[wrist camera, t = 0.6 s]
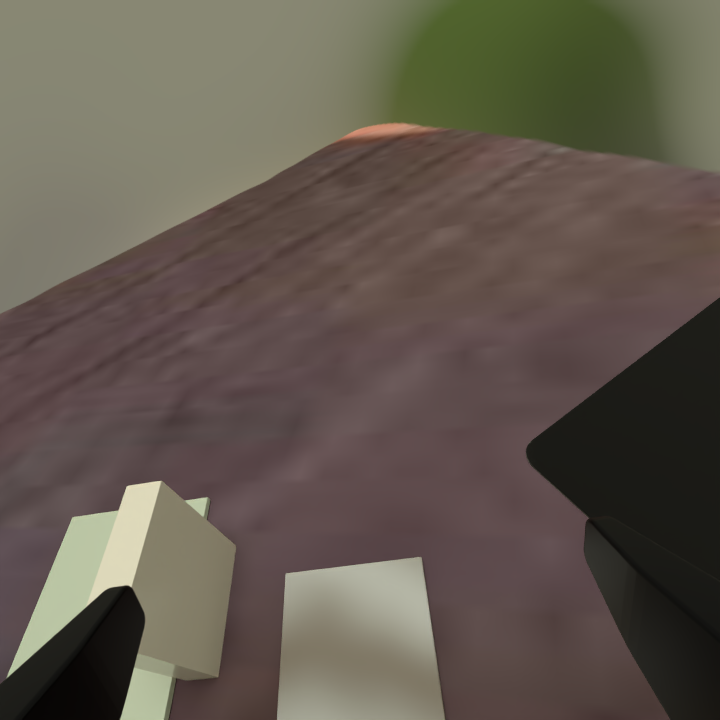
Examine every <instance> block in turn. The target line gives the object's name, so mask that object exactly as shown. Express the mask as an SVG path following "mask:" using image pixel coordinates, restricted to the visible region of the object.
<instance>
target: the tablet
mask: <svg viewBox="0 0 720 720" xmlns="http://www.w3.org/2000/svg"><path fill="white" fill-rule="evenodd" d="M526 456H527V459H528V462H529V463H530V465H531V466H532V467H533V468H534V469H535V470H536V471H538V472H539V473H540V474H541V475H542V476H543V477H544V478H545V479H546V480H547V481H549V482H550V483H551V484H552V485H553V486H554V487H555V488H556V489H557V490H559V491H560V492H561V493H562V494H563V495H564V496H565V497H566V498H567V499H569V500H570V501H571V502H572V503H573V504H574V505H575V506H576V507H577V508H578V509H580V510H581V511H582V512H583V513H584V514H585V515H586V516H587V517H588V518H594V517H601V516H610V517H613V518H615V519H616V520H618V521H620V522H621V523H623V524H625V525H626V526H628V527H630V528H632V529H633V530H635V531H637V532H638V533H640V534H642V535H643V536H645V537H647V538H648V539H650V540H652V541H654V542H655V543H657V544H659V545H660V546H662V547H664V548H665V549H667V550H669V551H671V552H672V553H674V554H676V555H677V556H679V557H681V558H682V559H684V560H686V561H687V562H689V563H691V564H693V565H694V566H696V567H698V568H699V569H701V570H703V571H704V572H706V573H708V574H710V575H711V576H713V577H715V578H716V579H718V580H720V298H718V299H717V300H716V301H715V302H713V303H712V304H711V305H709V306H708V307H707V308H705V309H704V310H703V311H701V312H700V313H699V314H697V315H696V316H695V317H694V318H692V319H691V320H690V321H688V322H687V323H686V324H684V325H683V326H682V327H680V328H679V329H678V330H676V331H675V332H674V333H672V334H671V335H670V336H669V337H667V338H666V339H665V340H663V341H662V342H661V343H659V344H658V345H657V346H655V347H654V348H653V349H651V350H650V351H649V352H648V353H646V354H645V355H644V356H642V357H641V358H640V359H638V360H637V361H636V362H634V363H633V364H632V365H630V366H629V367H628V368H626V369H625V370H624V371H623V372H621V373H620V374H619V375H617V376H616V377H615V378H613V379H612V380H611V381H609V382H608V383H607V384H605V385H604V386H603V387H602V388H600V389H599V390H598V391H596V392H595V393H594V394H592V395H591V396H590V397H588V398H587V399H586V400H584V401H583V402H582V403H580V404H579V405H578V406H577V407H575V408H574V409H573V410H571V411H570V412H569V413H567V414H566V415H565V416H563V417H562V418H561V419H559V420H558V421H557V422H556V423H554V424H553V425H552V426H550V427H549V428H548V429H546V430H545V431H544V432H542V433H541V434H540V435H538V436H537V437H536V438H535V439H533V440H532V441H531V442H530V443H529V444H528V446H527V450H526Z"/></svg>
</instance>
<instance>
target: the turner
mask: <svg viewBox="0 0 720 720" xmlns="http://www.w3.org/2000/svg"><path fill="white" fill-rule="evenodd" d="M277 720H446V719H445V712H444V706H443V699H442V692H441V685H440V678H439V672H438V665H437V658H436V651H435V644H434V638H433V631H432V624H431V617H430V610H429V604H428V597H427V590H426V583H425V576H424V570H423V563H422V558H421V557H416V558H408V559H400V560H392V561H384V562H376V563H368V564H360V565H352V566H343V567H335V568H327V569H319V570H311V571H303V572H295V573H287V574H286V579H285V596H284V612H283V629H282V646H281V662H280V679H279V695H278V712H277Z"/></svg>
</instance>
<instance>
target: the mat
mask: <svg viewBox="0 0 720 720" xmlns="http://www.w3.org/2000/svg"><path fill="white" fill-rule="evenodd" d="M185 502H186V503H188V504H189V505H190V506H191V507H192V508H193V509H195V510H196V511H197V512H198V513H199V514H200V515H201V516H203V517H204V518H205V519H206V520H207V515H208V510H209V505H210V499H209V498H208V497H207V498H200V499H193V500H187V501H185ZM117 514H118V511H112V512H106V513H99V514H92V515H85V516H79V517H73V518H72V520H71V523H70V525H69V528H68V530H67V532H66V535H65V537H64V540H63V542H62V545H61V547H60V549H59V552H58V554H57V557H56V559H55V562H54V564H53V566H52V569H51V571H50V574H49V576H48V579H47V581H46V583H45V586H44V588H43V591H42V593H41V596H40V598H39V600H38V603H37V605H36V608H35V610H34V613H33V615H32V618H31V620H30V622H29V625H28V627H27V630H26V632H25V635H24V637H23V639H22V642H21V644H20V647H19V649H18V652H17V654H16V656H15V659H14V661H13V664H12V666H11V669H10V671H9V673H8V676H7V677H9V676H10V675H11V674H12V673H13V672H14V671H15V670H16V669H18V668H19V667H20V666H21V665H22V664H23V663H24V662H25V661H26V660H28V659H29V658H30V657H31V656H32V655H33V654H34V653H35V652H36V651H38V650H39V649H40V648H41V647H42V646H43V645H44V644H45V643H47V642H48V641H49V640H50V639H51V638H52V637H53V636H54V635H55V634H57V633H58V632H59V631H60V630H61V629H62V628H63V627H64V626H66V625H67V624H68V623H69V622H70V621H71V620H72V619H73V618H74V617H76V616H77V615H78V614H79V613H80V612H81V611H82V610H83V609H84V608H86V605H87V603H88V600H89V597H90V594H91V591H92V588H93V585H94V582H95V579H96V576H97V573H98V570H99V567H100V564H101V561H102V558H103V555H104V553H105V550H106V547H107V544H108V541H109V538H110V535H111V532H112V529H113V526H114V523H115V520H116V517H117ZM175 683H176V678H174V677H170V676H166V675H162V674H158V673H154V672H150V671H146V670H142V669H138V668H134V670H133V674H132V678H131V682H130V686H129V690H128V694H127V698H126V701H125V705H124V708H123V712H122V715H121V718H120V720H169V715H170V709H171V704H172V699H173V694H174V688H175Z"/></svg>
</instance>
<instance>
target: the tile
mask: <svg viewBox="0 0 720 720" xmlns="http://www.w3.org/2000/svg"><path fill="white" fill-rule="evenodd" d="M235 552H236V545H235V544H233V543H232V542H231V541H230V540H229V539H228V538H227V537H225V536H224V535H223V534H222V533H221V532H220V531H219V530H217V529H216V528H215V527H214V526H213V525H212V524H211V523H209V522H208V521H207V520H206V519H205V518H204V517H203V516H201V515H200V514H199V513H198V512H197V511H196V510H195V509H193V508H192V507H191V506H190V505H189V504H188V503H186V502H185V501H184V500H183V499H182V498H181V497H180V496H178V495H177V494H176V493H175V492H174V491H173V490H172V489H170V488H169V487H168V486H167V485H166V484H165V483H164V482H162V481H157V482H150V483H144V484H138V485H131V486H127V488H126V491H125V494H124V497H123V500H122V503H121V505H120V508H119V511H118V514H117V517H116V520H115V523H114V526H113V529H112V532H111V535H110V538H109V541H108V544H107V547H106V550H105V553H104V555H103V558H102V561H101V564H100V567H99V570H98V573H97V576H96V579H95V582H94V585H93V588H92V591H91V594H90V597H89V600H88V603H87V605H86V607H87V606H88V605H89V604H90V603H91V602H92V601H93V600H95V599H96V598H97V597H98V596H99V595H100V594H101V593H102V592H104V591H105V590H106V589H108V588H111V587H117V586H124V585H128V586H130V587H132V588H133V590H134V592H135V594H136V596H137V598H138V600H139V602H140V604H141V606H142V608H143V610H144V613H145V627H144V631H143V635H142V639H141V643H140V647H139V651H138V655H137V659H136V663H135V666H134V668H138V669H142V670H146V671H150V672H154V673H158V674H162V675H166V676H170V677H174V678H178V679H182V680H186V681H188V680H197V679H207V678H217V677H218V676H219V669H220V662H221V654H222V647H223V640H224V632H225V625H226V618H227V610H228V603H229V596H230V588H231V581H232V574H233V566H234V559H235Z"/></svg>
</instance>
